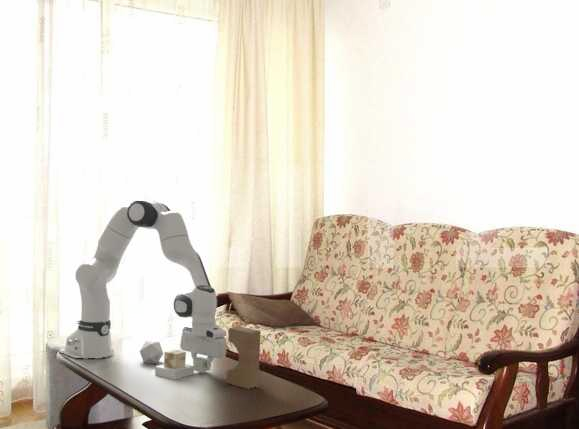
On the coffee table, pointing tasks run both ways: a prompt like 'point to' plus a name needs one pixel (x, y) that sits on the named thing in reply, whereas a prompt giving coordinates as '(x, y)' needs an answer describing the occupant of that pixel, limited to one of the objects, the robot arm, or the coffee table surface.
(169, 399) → the coffee table surface
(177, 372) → the foundation slab
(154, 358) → the die
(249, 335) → the decorative block
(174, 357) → the beech cube
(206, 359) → the sage cube
